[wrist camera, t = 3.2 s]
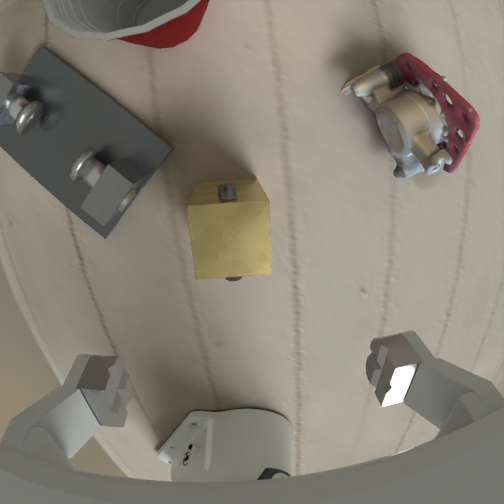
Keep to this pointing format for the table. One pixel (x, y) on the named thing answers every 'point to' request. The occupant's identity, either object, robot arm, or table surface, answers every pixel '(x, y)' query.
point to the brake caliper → (417, 115)
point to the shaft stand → (77, 140)
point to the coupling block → (230, 229)
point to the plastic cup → (128, 19)
